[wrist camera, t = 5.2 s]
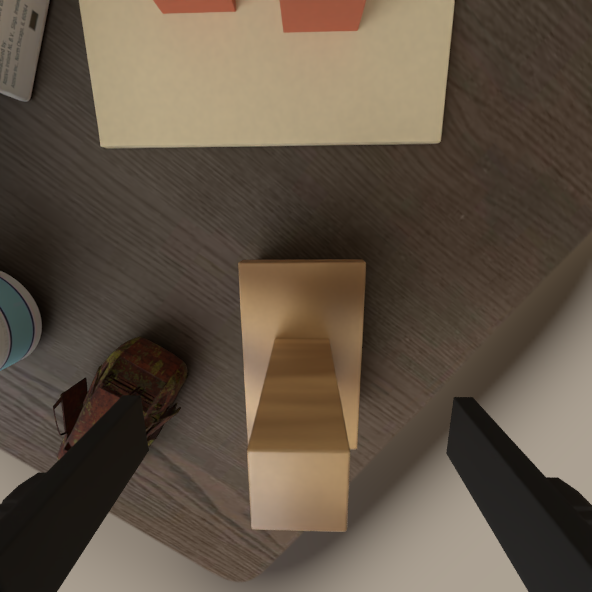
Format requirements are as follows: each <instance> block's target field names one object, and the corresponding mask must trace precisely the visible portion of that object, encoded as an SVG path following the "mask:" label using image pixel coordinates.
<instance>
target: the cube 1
mask: <svg viewBox="0 0 592 592" xmlns="http://www.w3.org/2000/svg"><path fill="white" fill-rule="evenodd" d="M153 1H154V2H155V4H156V5H157V7H158V8H159V9H160V11H161V12H162V13H163V14H170V13H206V12H235V11H236V0H153Z"/></svg>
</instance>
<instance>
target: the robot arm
mask: <svg viewBox="0 0 592 592" xmlns="http://www.w3.org/2000/svg"><path fill="white" fill-rule="evenodd" d="M148 451H149V448H148V442H147V435H146V428H145V421H144V415H143V408H142V401H141V395H123V396H122V397H121V398H120V399H119V400H118V401H117V402H116V403H115V404H114V405H113V406H112V407H111V408H110V409H109V410H108V411H107V412H106V413H105V414H104V415H103V416H102V417H101V418H100V419H99V420H98V421H97V422H96V423H95V424H94V425H93V426H92V427H91V428H90V429H89V430H88V431H87V432H86V433H85V434H84V435H83V436H82V437H81V438H80V439H79V440H78V441H77V442H76V443H75V444H74V445H73V446H72V447H71V448H70V449H69V450H68V451H67V452H66V453H65V454H64V455H63V456H62V457H61V459H60V460H59V461H58V462H57V463H56V464H55V465H54V466H53V467H52V468H51V469H50V470H49V471H48V472H47V473H37V474H36V475H34V476H33V477H31V478H29V479H28V480H26V481H25V482H23V483H22V484H20V485H19V486H18V487H17V488H16V489H14V490H13V491H12V492H11V493H10V494H9V495H8V496H7V497H6V498H5V499H4V500H3V502H2V504H0V592H57V591H58V589H59V588H60V586H61V585H62V583H63V582H64V580H65V579H66V577H67V576H68V574H69V572H70V571H71V569H72V568H73V566H74V565H75V563H76V562H77V560H78V559H79V557H80V555H81V554H82V552H83V551H84V549H85V548H86V546H87V545H88V543H89V542H90V540H91V539H92V537H93V535H94V534H95V532H96V531H97V529H98V528H99V526H100V525H101V523H102V522H103V520H104V518H105V517H106V515H107V514H108V512H109V511H110V509H111V508H112V506H113V505H114V503H115V502H116V500H117V499H118V497H119V495H120V494H121V492H122V491H123V489H124V488H125V486H126V485H127V483H128V482H129V480H130V478H131V477H132V475H133V474H134V472H135V471H136V469H137V468H138V466H139V465H140V463H141V462H142V460H143V458H144V457H145V455H146V454H147V452H148ZM447 455H448V457H449V458H450V460H451V462H452V464H453V465H454V467H455V469H456V470H457V472H458V474H459V475H460V477H461V478H462V480H463V482H464V484H465V485H466V487H467V489H468V490H469V492H470V494H471V496H472V497H473V499H474V501H475V502H476V504H477V506H478V507H479V509H480V511H481V512H482V514H483V516H484V517H485V519H486V521H487V522H488V524H489V526H490V527H491V529H492V531H493V532H494V534H495V536H496V538H497V539H498V541H499V543H500V544H501V546H502V548H503V549H504V551H505V553H506V554H507V556H508V558H509V559H510V561H511V563H512V564H513V566H514V568H515V570H516V571H517V573H518V574H519V576H520V578H521V580H522V581H523V583H524V585H525V586H526V588H527V589H528V592H592V505H591V504H590V503H589V502H588V501H587V500H586V499H585V498H584V497H583V496H582V495H581V494H580V493H579V492H578V491H577V490H575V489H574V488H572V487H571V486H570V485H568V484H567V483H565V482H564V481H562V480H561V479H559V478H546V477H545V476H544V475H543V474H542V473H541V472H540V470H539V469H538V468H537V467H536V466H535V465H534V464H533V463H532V462H531V461H530V460H529V458H528V457H527V456H526V455H525V454H524V453H523V452H522V451H521V450H520V449H519V448H518V446H516V444H515V443H514V442H513V441H512V440H511V439H510V438H509V437H508V436H507V434H506V433H505V432H504V431H503V430H502V429H501V428H500V427H499V426H498V425H497V423H496V422H495V421H494V420H493V419H492V418H491V417H490V416H489V415H488V414H487V413H486V411H485V410H484V409H483V408H482V407H481V406H480V405H479V404H478V403H477V402H476V401H475V399H474V398H472V397H454V400H453V408H452V416H451V423H450V431H449V437H448V446H447Z"/></svg>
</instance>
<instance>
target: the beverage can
mask: <svg viewBox="0 0 592 592" xmlns="http://www.w3.org/2000/svg"><path fill="white" fill-rule="evenodd" d="M41 332H42V321H41V315H40V312H39V309H38V306H37V304H36V302H35V301H34V299H33V297H32V296H31V294H30V293H29V292H28V291H27V289H26V288H25V287H24V286H23V285H22V284H21V283H19V282H18V281H17V280H16V279H14V278H13V277H11V276H10V275H8V274H6V273H4V272H2V271H0V371H1V370H3V369H5V368H7V367H8V366H10V365H12V364H14V363H16V362H18V361H20V360H22V359H24V358H25V357H27V356H28V355H30V354H31V353H32V352H33V351H34V349H35V348H36V346H37V345H38V343H39V340H40V337H41Z"/></svg>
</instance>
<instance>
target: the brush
mask: <svg viewBox="0 0 592 592" xmlns="http://www.w3.org/2000/svg"><path fill="white" fill-rule="evenodd" d="M238 270H239V289H240V307H241V326H242V344H243V363H244V381H245V400H246V418H247V437H248V448H247V460H248V478H249V497H250V515H251V527H252V529H254V530H294V531H338V532H345V531H346V530H347V517H348V495H349V472H350V449H357V440H358V419H359V399H360V379H361V358H362V338H363V318H364V298H365V277H366V262H365V261H363V260H362V259H325V260H242V261H240V262H239V263H238Z"/></svg>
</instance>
